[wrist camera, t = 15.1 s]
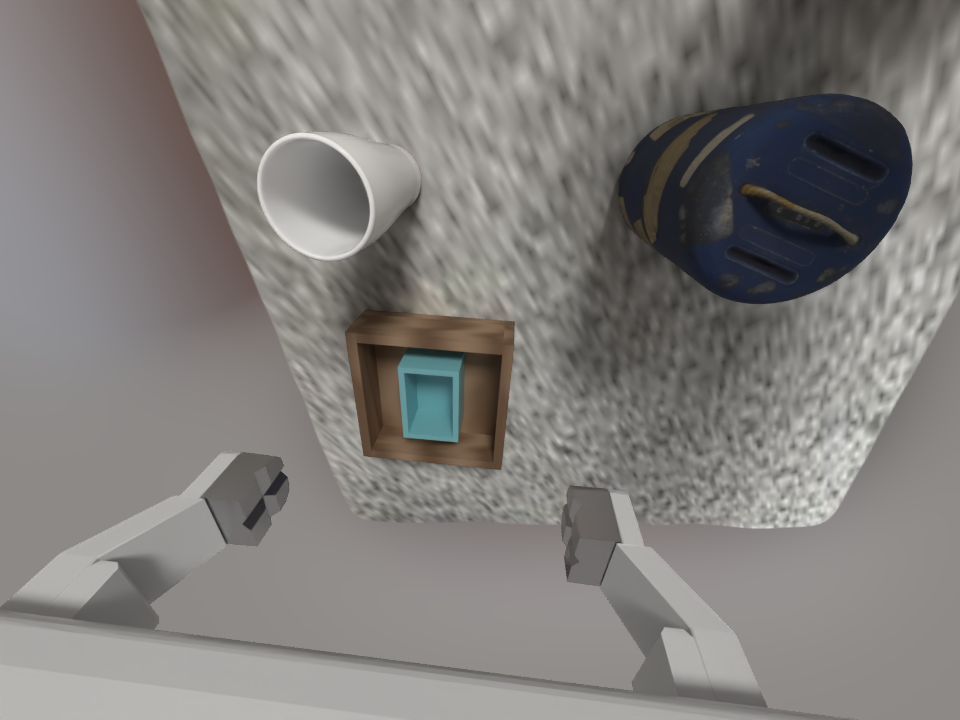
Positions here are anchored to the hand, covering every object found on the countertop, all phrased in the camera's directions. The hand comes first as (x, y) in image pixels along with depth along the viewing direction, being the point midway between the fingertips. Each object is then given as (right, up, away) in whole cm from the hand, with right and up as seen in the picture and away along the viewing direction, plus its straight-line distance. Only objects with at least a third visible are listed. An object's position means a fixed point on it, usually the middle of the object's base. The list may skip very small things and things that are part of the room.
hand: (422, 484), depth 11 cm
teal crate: (-3, +1, +32) cm, 32 cm away
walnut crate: (-3, +1, +33) cm, 34 cm away
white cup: (-6, +20, +23) cm, 31 cm away
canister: (+18, +19, +21) cm, 34 cm away
